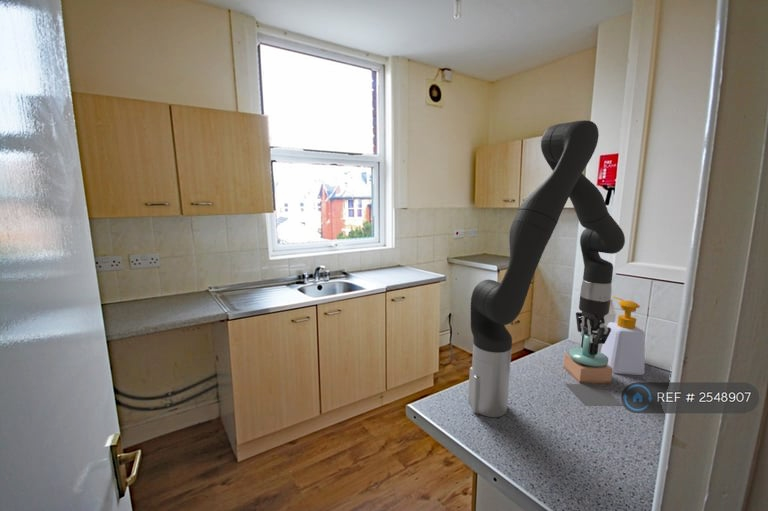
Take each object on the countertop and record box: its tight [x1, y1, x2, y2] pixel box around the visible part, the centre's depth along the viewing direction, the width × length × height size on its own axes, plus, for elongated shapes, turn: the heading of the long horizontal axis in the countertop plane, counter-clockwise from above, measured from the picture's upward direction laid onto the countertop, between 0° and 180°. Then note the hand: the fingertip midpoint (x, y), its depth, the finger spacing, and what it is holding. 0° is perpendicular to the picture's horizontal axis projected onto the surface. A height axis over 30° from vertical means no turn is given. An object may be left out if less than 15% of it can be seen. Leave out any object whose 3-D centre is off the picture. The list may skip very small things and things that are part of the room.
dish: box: [563, 353, 613, 384], centre depth 102 cm, size 9×9×5 cm
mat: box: [564, 383, 624, 407], centre depth 93 cm, size 10×10×1 cm
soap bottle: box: [601, 296, 646, 376], centre depth 108 cm, size 10×14×22 cm
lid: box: [568, 334, 608, 366], centre depth 101 cm, size 10×10×7 cm
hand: (588, 351), depth 101 cm, fingers closed on lid, 3 cm apart
